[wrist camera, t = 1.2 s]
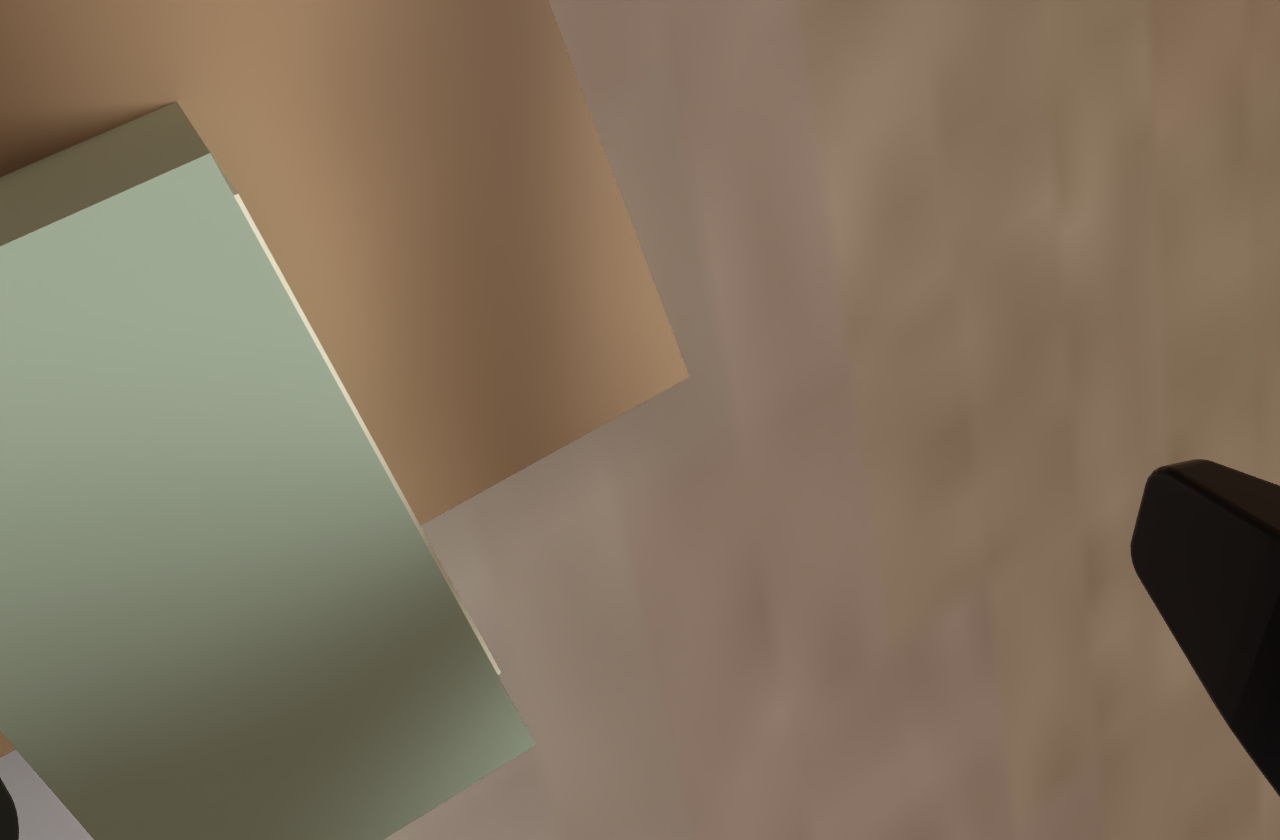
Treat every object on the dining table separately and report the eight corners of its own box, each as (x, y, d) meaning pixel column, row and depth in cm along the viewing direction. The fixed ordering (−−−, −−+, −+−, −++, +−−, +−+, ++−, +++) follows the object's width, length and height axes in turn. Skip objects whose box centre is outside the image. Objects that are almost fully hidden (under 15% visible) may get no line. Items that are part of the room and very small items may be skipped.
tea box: (403, 504, 18) (540, 742, 12) (171, 630, 17) (195, 956, 11) (180, 100, 15) (216, 150, 9) (-119, 228, 14) (-303, 381, 8)
